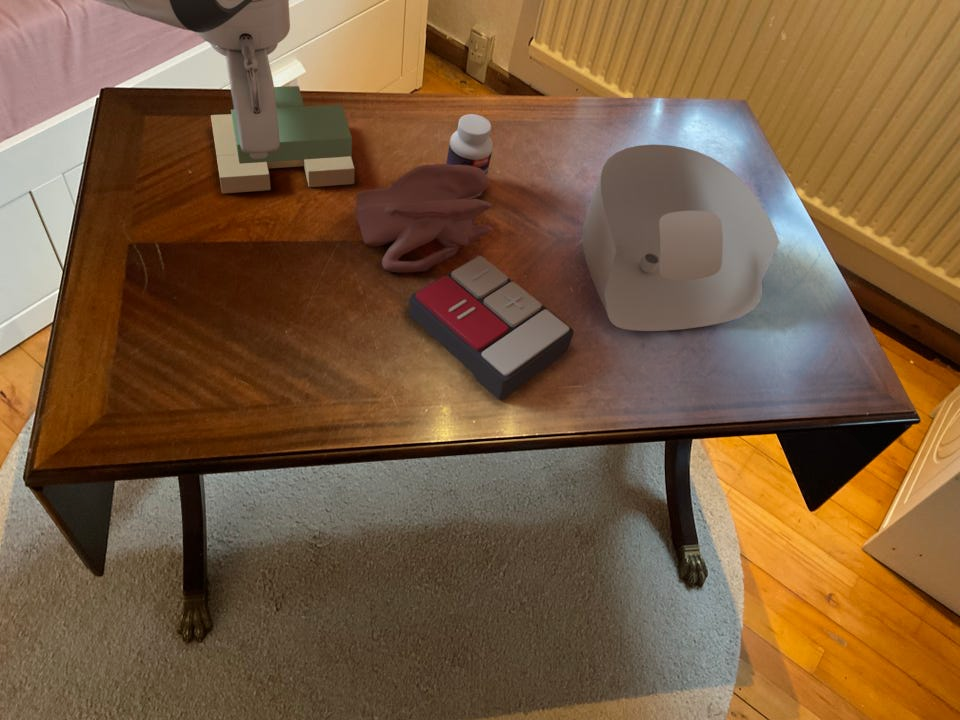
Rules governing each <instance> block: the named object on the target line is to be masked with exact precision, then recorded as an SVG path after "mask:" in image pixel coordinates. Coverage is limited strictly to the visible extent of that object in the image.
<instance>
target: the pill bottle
mask: <svg viewBox="0 0 960 720" xmlns="http://www.w3.org/2000/svg"><path fill="white" fill-rule="evenodd" d="M491 130H492V124H491V122H490V121H489V119H487V118H486V117H484V116H482V115H480V114H474V113H469V114H464V115H462V116H461V117H460V118H459V119H458V123H457V128H456V130H455V131H454V132H453V133H452V135H450V139H449V143H448V150H447V157H446V163H445V164H448V165H468V166H473V167H476V168H480V169H481V170H483V172H484V173H485V174H486V176H487V177H488V172H489V167H490V162H491V158H492V153H493V147H494V144H493V140H492V139H491V137H490V136H491ZM482 194H483V192H481V193H480V194H478V195H477V196H474V197H469V198H468V199H476V198H477V197H479V196H481V195H482Z"/></svg>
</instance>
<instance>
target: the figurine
mask: <svg viewBox="0 0 960 720" xmlns="http://www.w3.org/2000/svg"><path fill="white" fill-rule="evenodd" d="M489 184H490V179H489V178H488V175H487V176H486V174H485V173H484V172H483V170H481V169H480V168H476V167H473V166H468V165H448V164H446V163H438V164H422V165H418V166H416V167H414V168H412V169H409V170H408V171H407V172H405V173H403V174H402V175H401V176H400V177H399V178H398V179H395V180H394V181H392V183H391V185H390V186H388V187H383V188H375V189H374V188H373V189H369V190H368V189H367V190H363V191H360V192H357V194H356V206H355V211H354V213H355V218H356V221H357V224H358V227H359V229H360V234H361V238H362V240H363V243H364V244H365V245H366V246H369V247H379V246H384V245H387V244H390V243H392V244H391V245H390V246H389V247H388V248H387V250H386V252H385V253H384V255H383V256H382V260H381V266H382V268H383V269H384V270H385V271H386V272H392V273H397V274H405V273H406V274H407V273H418V272H421V273H424V272H428V270H430V269H431V268H433V267H434V266H437V265H439V264H441V263H442V262H444V261H446V260H449V259H451V258H453V257H454V256H455V255H456V254H457V253H458V251H459V249H460V247H461V246H463V247H464V246H465V247H467V246H468V245H474V244H475V243H476V242H477V241H478V239H480V238H482V237H484V236H487V235H489V234H492V233H493V231H494V229H493V227H492V226H490V225H487V224H482V225H475V222H476V219H477V218H478V217H479V216H480V215H482V214H483V213H485V212H487V211H488V210H490V209H492V207H493V205H492V203H490V202H489V201H485V200H482V199H478V198H472V199H468V198H469V197H474V196H477V195H478V194H480V193H481V192H482V193H483V192H484V191H485V190H486V189H487V188H488V186H489ZM482 193H481V194H482ZM481 194H480V195H481ZM434 240H438V243H439V245H440V247H441V248H442V249H440V250H437V251H435V252H433V253H431V254H428V255H427V256H424V257H423V258H420V259H416V260H400V258H401V257H402V256H404V255H406V254H408V253H410V252H412V251H413V250H416V249H418V248H420V247H422V246H424V245H426V244H428V243H432V241H434Z"/></svg>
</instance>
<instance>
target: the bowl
mask: <svg viewBox="0 0 960 720" xmlns="http://www.w3.org/2000/svg"><path fill="white" fill-rule="evenodd" d="M779 244H780V239H779V238H778V235H777V231H776V229H775V227H774V225H773V223H772V221H771V219H770V217H769V215H768V213H767V211H766V210H765V207H764V206H763V205H762V203H761V202H760V200H759V199H758V197H757V195H756V194H755V193H754V192H753V191H752V190H751V188H750V187H749V186H748V185H747V184H746V183H745V182H744V181H743V180H742V179H741V178H740V177H739V175H737V174H736V173H735V172H734V171H732V170H731V169H730V168H729V167H727V166H726V165H725V164H723V163H721V162H720V161H718V159H717V160H716V159H715V158H714V157H712V156H710V155H707V154H705V153H703V152H699V151H697V150H693V149H691V148H686V147H682V146H676V145H669V144H642V145H636V146H631V147H627V148H624V149H622V150H619V151H617V152H615V153H613V154H612V155H611V156H610V157H609V158H607V160H606V162H605V163H604V165H603V166H602V168H601V172H600V174H599V177H598V179H597V183H596V185H595V188H594V190H593V194H592V196H591V200H590V202H589V205H588V208H587V211H586V215H585V219H584V223H583V228H582V248H583V253H584V259H585V263H586V265H587V269H588V272H589V274H590V278H591V280H592V282H593V285H594V288H595V290H596V292H597V295H598V297H599V299H600V301H601V303H602V306H603V308H604V309H605V313H606V315H607V317H608V319H609V321H610V322H611V324H612V325H614V326H615V327H617V328H620V329H623V330H626V331H627V330H628V331H638V332H657V331H658V332H662V331H663V332H664V331H677V330H687V329H688V330H689V329H695V328H702V327H709V326H714V325H719V324H723V323H726V322H730V321H734V320H737V319H740V318H742V317H744V316H746V315H748V314H749V313H751V312H752V311H753V310H755V309H756V307H757V306H758V305H759V303H760V301H761V299H762V294H763V287H762V286H763V284H762V283H763V280H764V278H765V275H766V273H767V270H768V269H769V266H770V264H771V262H772V259H773V257H774V255H775V253H776V251H777V249H778V246H779Z"/></svg>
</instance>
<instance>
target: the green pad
mask: <svg viewBox="0 0 960 720" xmlns="http://www.w3.org/2000/svg"><path fill="white" fill-rule="evenodd" d="M274 90H275V98H276V108H277V118H278V128H279V140H280V144H279V149H278V150H277V151H275V152H268V156H267V157H266V158H262V159H253V158H251V157H250V153H245V152H243V151H242V149H241V146H240V142H239V136H238V130H237V124H236V118H235V112H234V109H230V112H231V113H230V114H232V122H233V129H234V135H235V141H236V147H237V153H238V159H239V163H240V164H243V163H258V162H273V161H288V160H303V159H319V158H334V157H349V156H351V157H353V156H352V155H353V152H352V151H353V137H352V134H351V131H350V127H349V124H348V121H347V117H346V114H345V110H344V107H343V104H328V105H327V104H325V105H305V104H304V100H303V96H302V93H301V88H300V86H299V85H291V86H289V85H288V86H287V85H286V86H274Z"/></svg>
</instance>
